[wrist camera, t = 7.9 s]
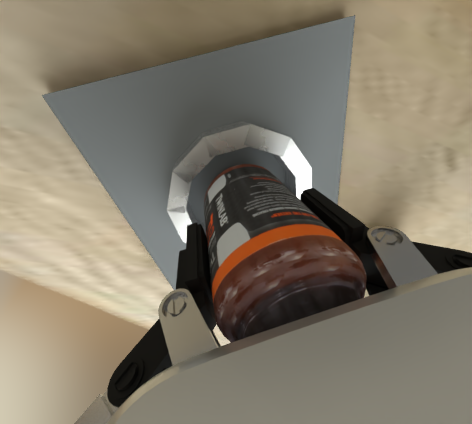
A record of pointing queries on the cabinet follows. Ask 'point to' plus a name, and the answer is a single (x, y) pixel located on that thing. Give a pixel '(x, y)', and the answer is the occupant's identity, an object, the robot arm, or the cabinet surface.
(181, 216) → the ring collar
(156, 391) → the robot arm
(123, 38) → the cabinet surface
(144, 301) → the cabinet surface
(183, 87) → the rubber mat
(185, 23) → the cabinet surface
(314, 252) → the supplement bottle
